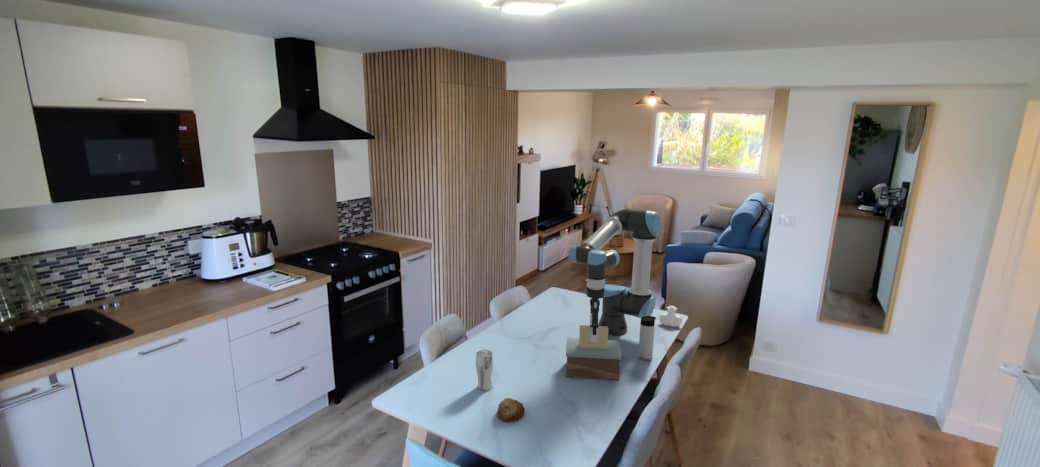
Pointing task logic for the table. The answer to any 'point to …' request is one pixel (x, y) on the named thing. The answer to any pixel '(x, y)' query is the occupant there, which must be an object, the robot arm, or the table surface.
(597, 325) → the robot arm
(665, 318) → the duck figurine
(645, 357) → the travel mug
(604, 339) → the lid
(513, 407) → the bread roll
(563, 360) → the table surface
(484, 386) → the beer glass
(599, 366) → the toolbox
